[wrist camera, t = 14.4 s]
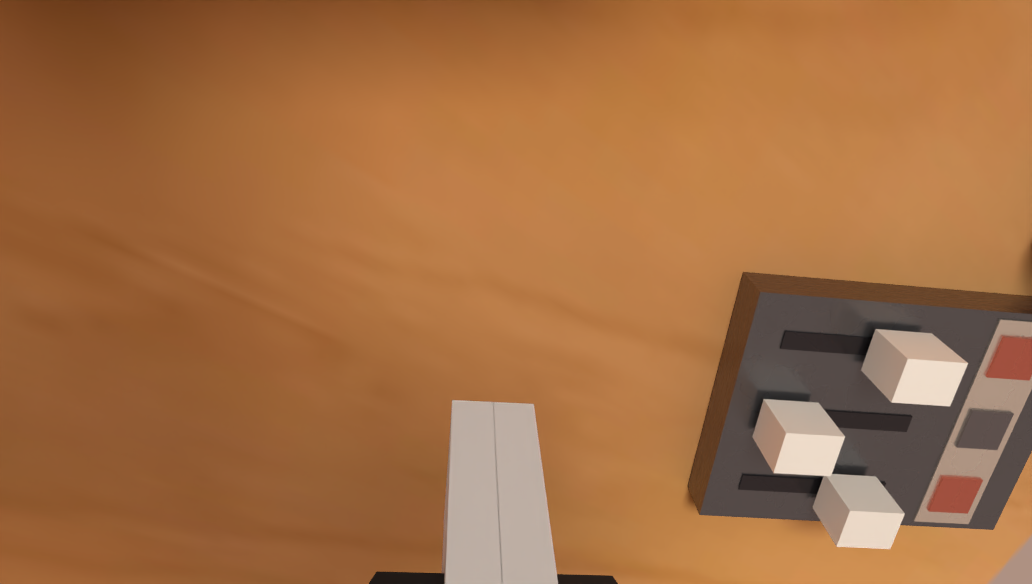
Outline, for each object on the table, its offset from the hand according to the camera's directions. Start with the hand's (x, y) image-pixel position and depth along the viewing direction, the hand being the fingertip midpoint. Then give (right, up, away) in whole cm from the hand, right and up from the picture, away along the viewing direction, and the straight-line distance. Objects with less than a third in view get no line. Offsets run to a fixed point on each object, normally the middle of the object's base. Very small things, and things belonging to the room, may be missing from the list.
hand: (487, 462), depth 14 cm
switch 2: (+19, -8, +27) cm, 34 cm away
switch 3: (+20, 0, +23) cm, 31 cm away
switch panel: (+21, -3, +28) cm, 35 cm away
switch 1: (+15, -4, +25) cm, 29 cm away
